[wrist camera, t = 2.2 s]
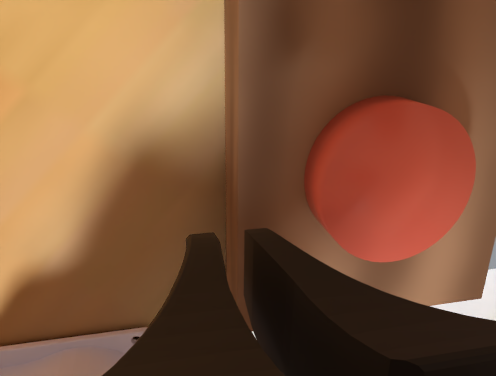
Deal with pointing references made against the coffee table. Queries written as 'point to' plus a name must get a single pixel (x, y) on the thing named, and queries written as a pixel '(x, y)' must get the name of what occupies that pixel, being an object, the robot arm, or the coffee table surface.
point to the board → (336, 100)
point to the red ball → (389, 177)
